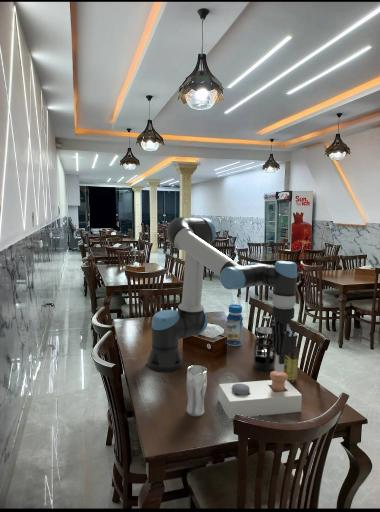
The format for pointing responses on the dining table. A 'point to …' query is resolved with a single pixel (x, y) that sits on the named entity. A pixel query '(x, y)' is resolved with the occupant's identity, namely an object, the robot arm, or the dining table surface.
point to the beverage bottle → (234, 325)
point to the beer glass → (196, 389)
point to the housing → (259, 399)
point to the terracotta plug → (278, 381)
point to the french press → (261, 353)
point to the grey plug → (240, 389)
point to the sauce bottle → (292, 361)
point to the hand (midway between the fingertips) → (279, 371)
